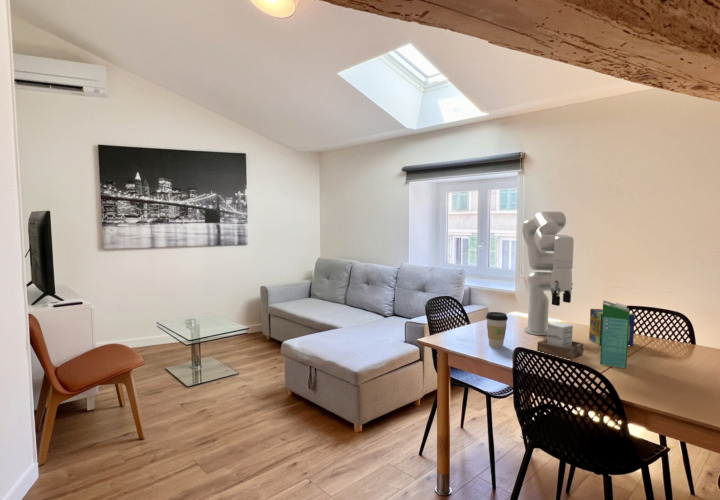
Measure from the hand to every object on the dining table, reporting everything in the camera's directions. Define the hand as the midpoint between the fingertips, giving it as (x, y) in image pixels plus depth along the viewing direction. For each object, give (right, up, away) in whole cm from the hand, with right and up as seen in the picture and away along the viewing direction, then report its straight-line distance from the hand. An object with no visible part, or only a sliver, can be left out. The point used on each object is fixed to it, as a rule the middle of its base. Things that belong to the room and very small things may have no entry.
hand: (561, 303), depth 177 cm
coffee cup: (-24, -22, +13) cm, 35 cm away
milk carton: (+16, -23, -10) cm, 30 cm away
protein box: (+32, -21, +17) cm, 42 cm away
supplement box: (0, -22, +1) cm, 22 cm away
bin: (0, -22, +1) cm, 22 cm away
